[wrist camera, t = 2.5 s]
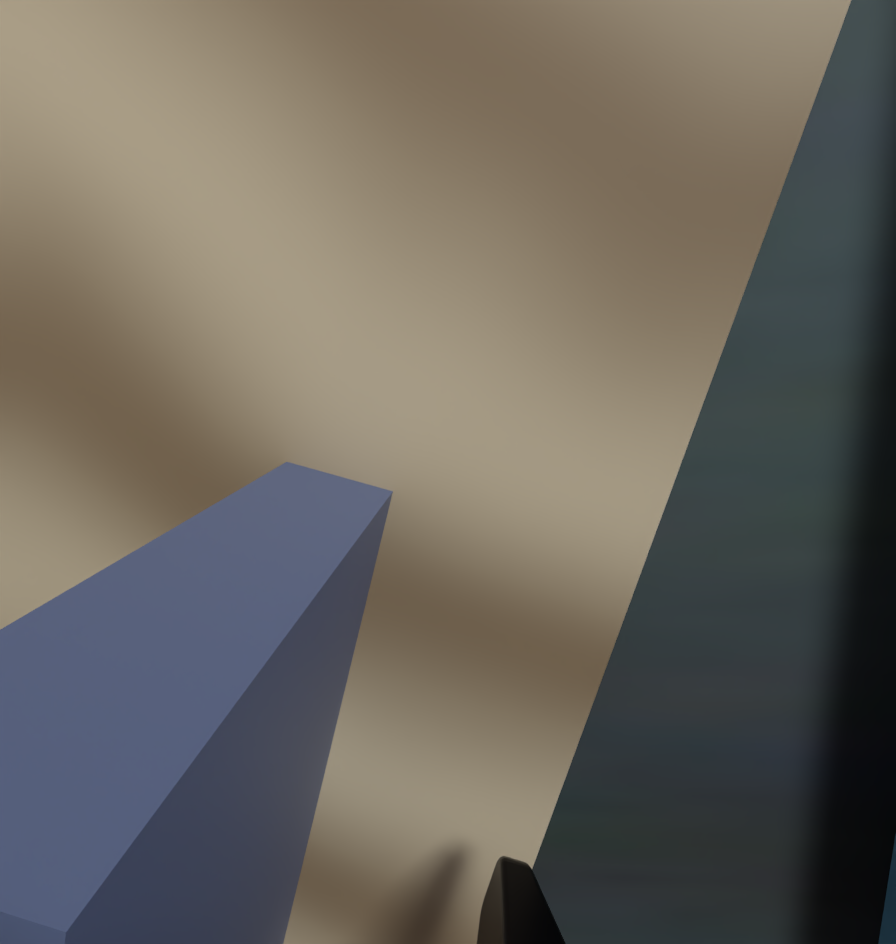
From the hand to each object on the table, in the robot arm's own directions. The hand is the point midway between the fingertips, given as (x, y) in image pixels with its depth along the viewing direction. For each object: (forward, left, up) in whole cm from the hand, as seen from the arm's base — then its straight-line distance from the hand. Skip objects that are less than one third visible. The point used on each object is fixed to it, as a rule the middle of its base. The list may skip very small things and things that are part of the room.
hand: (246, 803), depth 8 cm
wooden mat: (+4, +3, -2) cm, 6 cm away
